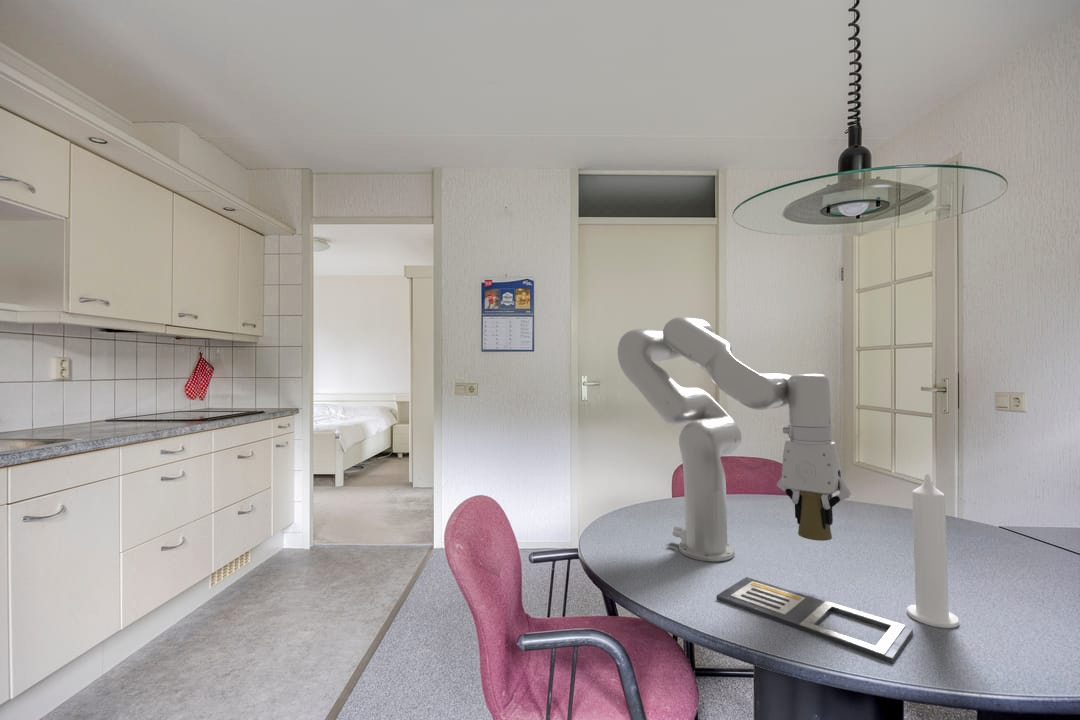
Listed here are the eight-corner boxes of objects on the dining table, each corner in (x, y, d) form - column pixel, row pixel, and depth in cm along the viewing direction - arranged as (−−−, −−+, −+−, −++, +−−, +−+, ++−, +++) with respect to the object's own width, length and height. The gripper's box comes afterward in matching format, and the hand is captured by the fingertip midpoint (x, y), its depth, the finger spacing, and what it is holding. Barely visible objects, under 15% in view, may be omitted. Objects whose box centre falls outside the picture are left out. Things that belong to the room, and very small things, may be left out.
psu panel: (716, 599, 94) (716, 593, 94) (746, 580, 102) (746, 575, 102) (892, 663, 73) (892, 656, 73) (912, 633, 81) (912, 626, 81)
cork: (801, 528, 104) (799, 476, 104) (834, 534, 100) (832, 480, 101) (794, 536, 100) (792, 481, 100) (829, 542, 96) (826, 485, 96)
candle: (959, 616, 86) (954, 472, 86) (958, 633, 81) (952, 479, 81) (909, 604, 91) (904, 467, 91) (904, 619, 85) (900, 474, 86)
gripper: (761, 433, 104) (764, 520, 104) (850, 440, 92) (854, 539, 91) (776, 429, 109) (779, 513, 109) (863, 435, 97) (867, 530, 96)
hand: (813, 524), depth 100 cm, fingers closed on cork, 3 cm apart
